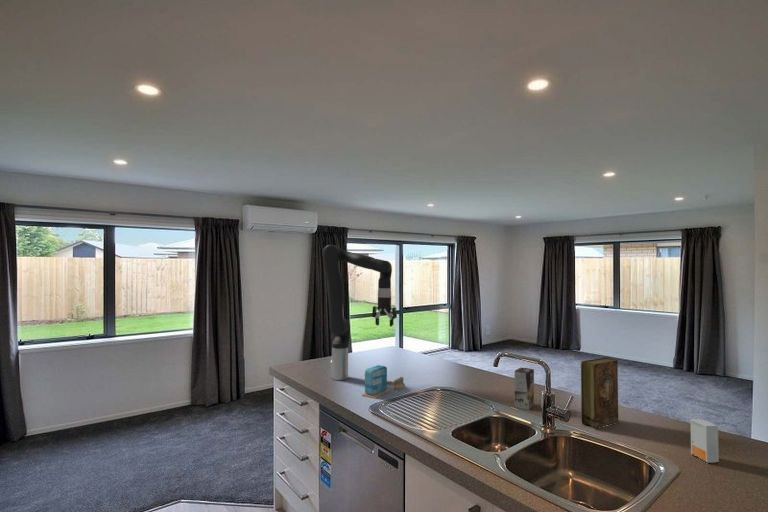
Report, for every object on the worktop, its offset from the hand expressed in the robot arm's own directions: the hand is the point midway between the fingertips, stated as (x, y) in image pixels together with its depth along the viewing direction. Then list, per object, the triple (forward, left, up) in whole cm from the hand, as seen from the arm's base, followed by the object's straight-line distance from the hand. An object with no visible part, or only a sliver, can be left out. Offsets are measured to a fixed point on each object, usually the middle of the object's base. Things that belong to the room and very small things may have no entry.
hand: (384, 325), depth 212 cm
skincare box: (+133, -26, -30) cm, 139 cm away
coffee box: (+74, -3, -30) cm, 80 cm away
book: (+104, -9, -30) cm, 109 cm away
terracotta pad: (+7, -21, -30) cm, 37 cm away
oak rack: (+6, -9, -30) cm, 32 cm away
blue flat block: (+7, -21, -30) cm, 37 cm away
